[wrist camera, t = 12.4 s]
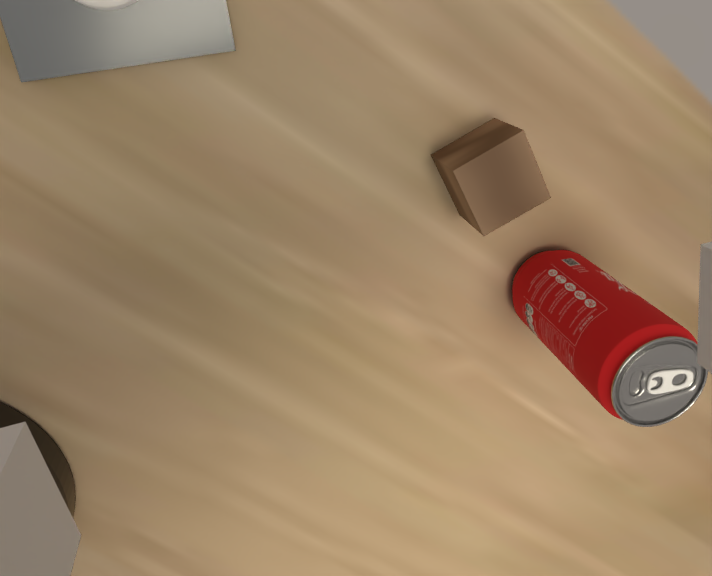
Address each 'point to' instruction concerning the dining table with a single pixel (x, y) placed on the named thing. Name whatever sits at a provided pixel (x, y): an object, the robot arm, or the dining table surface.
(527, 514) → the dining table surface
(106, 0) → the chess piece
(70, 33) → the coaster
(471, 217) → the walnut cube
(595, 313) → the beverage can
